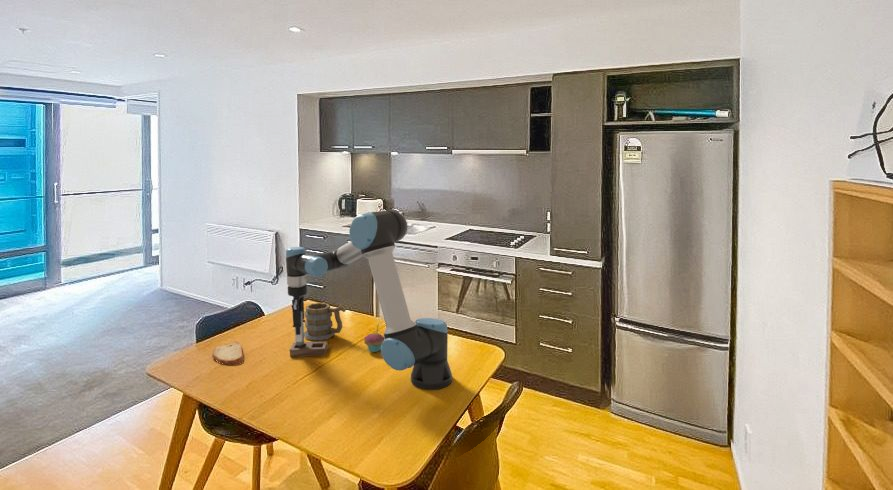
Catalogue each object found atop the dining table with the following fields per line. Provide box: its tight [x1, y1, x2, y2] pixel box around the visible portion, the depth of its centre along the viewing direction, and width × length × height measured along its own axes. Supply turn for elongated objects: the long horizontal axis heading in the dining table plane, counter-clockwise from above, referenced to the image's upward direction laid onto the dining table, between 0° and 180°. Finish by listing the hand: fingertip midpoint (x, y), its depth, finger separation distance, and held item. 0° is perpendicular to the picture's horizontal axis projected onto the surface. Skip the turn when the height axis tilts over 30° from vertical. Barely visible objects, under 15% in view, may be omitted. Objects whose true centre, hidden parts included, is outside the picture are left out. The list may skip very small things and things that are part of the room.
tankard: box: [304, 302, 347, 342], centre depth 225 cm, size 20×13×15 cm, turn 73°
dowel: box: [295, 311, 305, 346], centre depth 206 cm, size 3×3×14 cm
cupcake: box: [363, 322, 385, 353], centre depth 209 cm, size 9×8×12 cm
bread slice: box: [212, 341, 245, 365], centre depth 205 cm, size 18×18×4 cm
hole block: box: [289, 341, 329, 358], centre depth 208 cm, size 8×14×3 cm, turn 96°
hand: (299, 339), depth 207 cm, fingers closed on dowel, 3 cm apart
